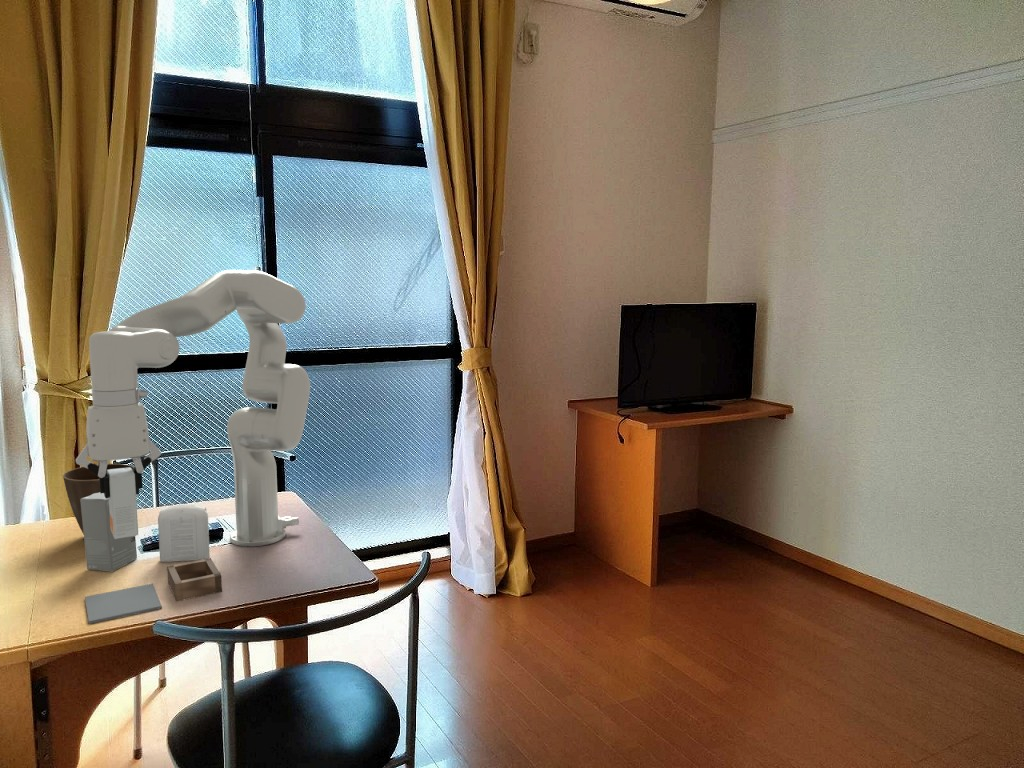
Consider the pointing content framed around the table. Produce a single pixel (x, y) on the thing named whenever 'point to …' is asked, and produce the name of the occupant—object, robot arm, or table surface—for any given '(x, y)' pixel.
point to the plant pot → (83, 487)
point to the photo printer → (183, 533)
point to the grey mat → (122, 603)
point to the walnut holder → (194, 579)
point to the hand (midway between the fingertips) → (121, 493)
